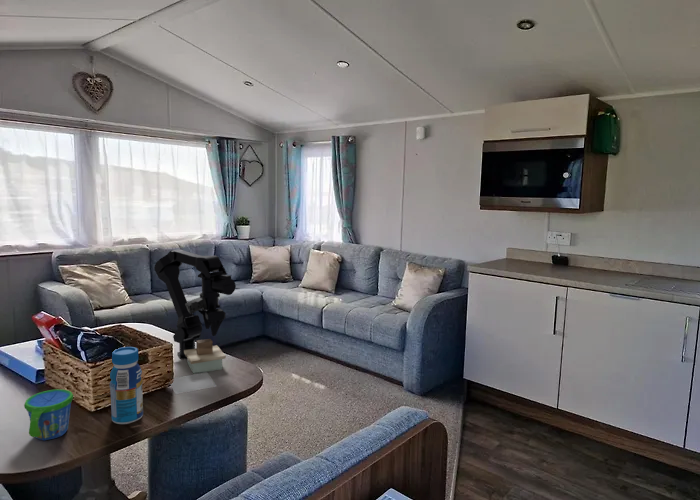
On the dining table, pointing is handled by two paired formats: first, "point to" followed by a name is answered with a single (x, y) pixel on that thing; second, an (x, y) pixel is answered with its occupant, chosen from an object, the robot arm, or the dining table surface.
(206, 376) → the mat
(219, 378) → the dining table surface
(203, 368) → the dish
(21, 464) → the dining table surface
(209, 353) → the lid
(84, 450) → the dining table surface
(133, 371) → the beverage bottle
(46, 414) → the snack cup
